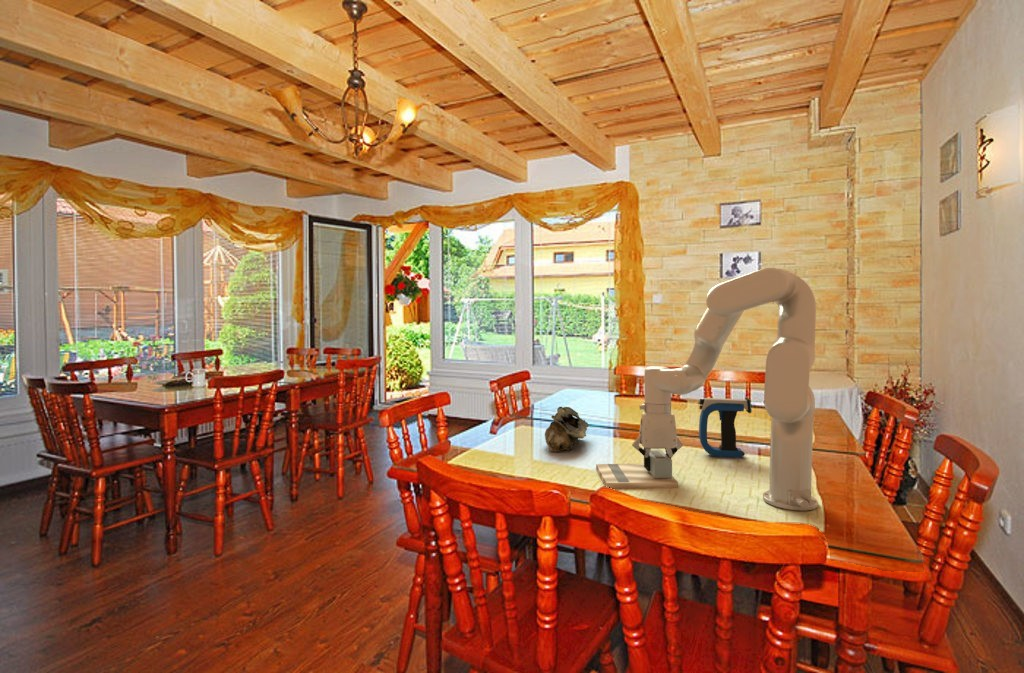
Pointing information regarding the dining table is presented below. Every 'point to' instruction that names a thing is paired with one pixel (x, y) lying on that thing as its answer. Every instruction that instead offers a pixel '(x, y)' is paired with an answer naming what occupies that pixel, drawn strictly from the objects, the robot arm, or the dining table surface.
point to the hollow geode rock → (565, 430)
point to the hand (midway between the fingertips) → (657, 469)
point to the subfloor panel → (632, 477)
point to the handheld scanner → (722, 425)
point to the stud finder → (660, 464)
